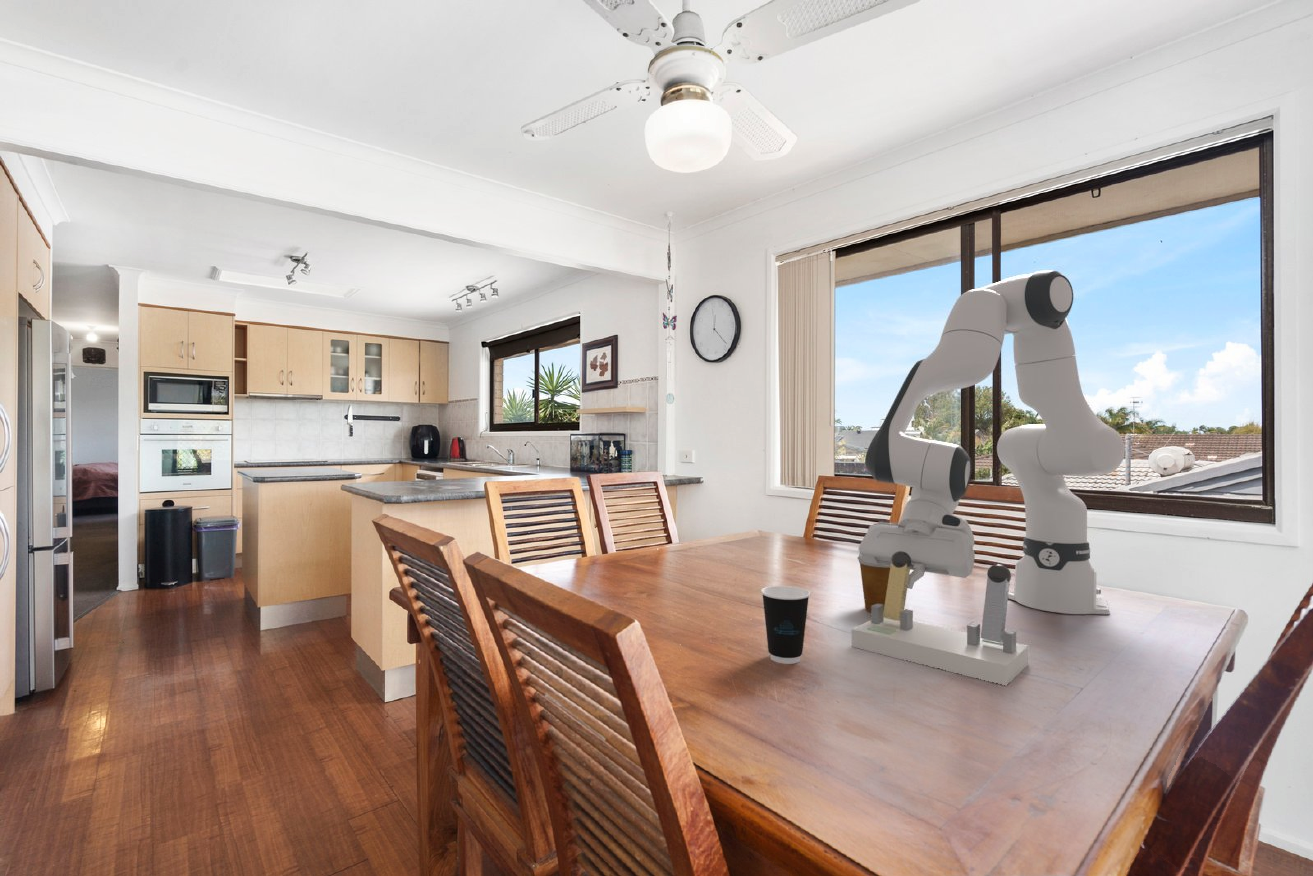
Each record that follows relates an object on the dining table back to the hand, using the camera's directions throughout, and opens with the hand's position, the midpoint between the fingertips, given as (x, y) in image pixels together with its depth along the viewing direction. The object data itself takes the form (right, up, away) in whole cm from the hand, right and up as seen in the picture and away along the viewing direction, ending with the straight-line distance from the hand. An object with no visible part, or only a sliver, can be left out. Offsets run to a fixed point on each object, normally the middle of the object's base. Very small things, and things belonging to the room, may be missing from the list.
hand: (902, 585), depth 112 cm
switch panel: (+2, -9, -10) cm, 14 cm away
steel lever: (+8, -6, -15) cm, 18 cm away
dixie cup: (-24, -9, -12) cm, 28 cm away
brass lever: (-3, -6, -4) cm, 8 cm away
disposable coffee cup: (+2, -9, +16) cm, 19 cm away
